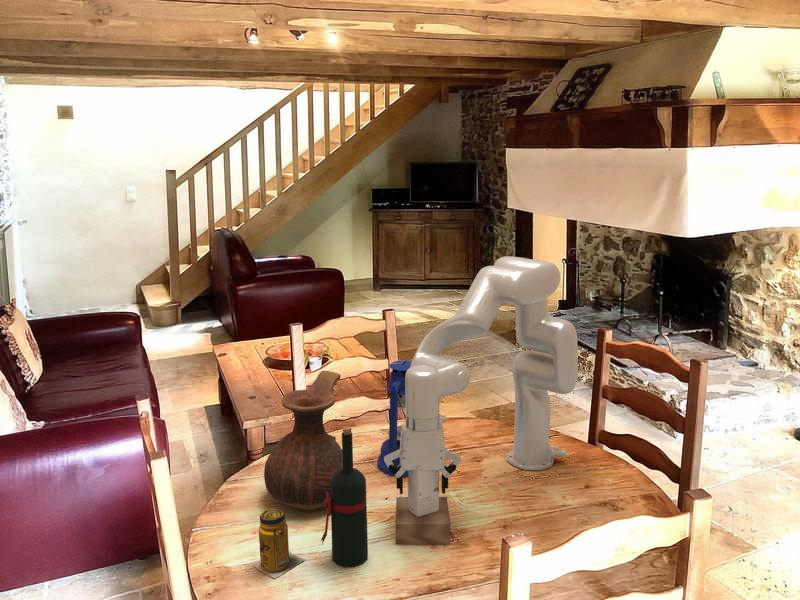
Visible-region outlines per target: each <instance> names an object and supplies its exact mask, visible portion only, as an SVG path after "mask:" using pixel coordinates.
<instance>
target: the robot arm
mask: <svg viewBox="0 0 800 600" xmlns="http://www.w3.org/2000/svg"><path fill="white" fill-rule="evenodd" d="M560 283H561V272H560V270H559V267H558V266H557V264H555V263H553V262H550V261H545V260H539V259H531V258H527V257H520V256H512V255H511V256H502V257H499V258H498V259H496V261H495V262H494V264H493V265H488V266H484V267H482V268H481V269H480V270H479V271H478V273H477V274H476V276H475V278H474V280H473V281H472V283H471V285H470V287H469V289H468V291H467V293H466V295H465V296H464V298H463V300H462V302H461V303H460V305H459V307H458V310H457V311H456V312H455V314H454V315H453V316H450V317H449V318H447V319H446V320H444V321H442V322H441V323H440V324H438V325H436V327H434V328H433V329H431V331H429V332H428V333H427V334H426V335H425V336H424V337H423V339H422V341H421V342H420V344H419V345H418V348H417V350H416V351H415V354H414V355H413V358H412V359H411V361H412V362H411V366H410V368H409V369H408V370H407V372H406V377H405V386H406V408H405V416H406V420H405V423H402V430H401V438H400V449H399V450H396V451H394V452H392V453H390V454H388V455H386V456H385V457H384V462H385V463H386V465H387V466H388V468H389V470H390V471H391V472H392V473H393V474H394V475H395V476H394V477H395V478H396V490H399V495H402V494H404V477H403V473H404V472H405V471H406V470H413V471H414V470H415V468H416V466H422V467H424V470H439V473H441V493H442V494H443V495H446V489H449V478H450V476H451V475H452V474H453V473H454V472H455V471H456V470H457V467H458V466H459V465H460V463H461V461H462V458H461V455H459V454H456V453H455V452H452V451H450V450H449V449H446V446H445V445H446V442H445V433H444V428H443V427H444V426H443V424H442V423H446V422H447V415H441V413H440V405H441V403H440V400H441V397H448V396H453V395H457V394H459V393H462V392H463V391H465V389H467V387H468V385H469V384H470V382H471V377H472V376H471V371H470V368H469V367H468V366H467V365H466V364H464V363H462V362H461V361H459V360H458V361H457V360H455V359H449V358H447V357H443V356H440V355H441V354H442V353H443V351H444V350H446V349H447V348H448V347H449V346H451V345H453V344H455V343H457V342H461V341H464V340H469V339H473V338H476V337H481V336H483V335H485V334H486V333H488V332H489V329H490V328H491V326H492V324H493V321H494V319H495V318H496V316H497V314H498V312H499V310H500V308H501V306H502V305H503V304H507V305H513V306H514V309H515V310H514V311H515V312H514V313H515V314H514V315H515V316H514V317H515V330H516V331H515V333H516V340H517V343H518V344H519V345H520V346H521V347H523V348H524V349H527V350H522V351H520V352H519V353H517V354H516V355H515V357H514V359H513V361H512V367H511V368H512V376H513V377H512V378H513V382H514V394H515V395H514V397H515V398H514V423H513V426H514V427H513V448H512V449H511V450H510V451H509V452H508V453H507V461H508V463H509V464H511V465H512V466H513V467H515V468H517V469H521V470H525V471H542V470H546V469H549V468H550V467H552V466H553V464H554V459H555V457H566V455H567V452H566V449H562V448H561V449H560V446H551V445H550V444H549V443H550V442H549V441H550V426H551V424H550V423H551V422H550V421H551V399H550V395H549V392H551V393H554V394H559V395H567V394H570V393H571V392H572V391H574V390H575V387H576V385H577V382H578V376H579V375H578V373H579V364H578V363H579V361H578V359H579V357H578V356H579V353H578V348H579V347H578V334H577V330H576V328H575V325H574V324H573V323H572V322H571V321H569V320H566V319H563V318H557V317H555V316H554V317H553V316H551V315H550V314H549V303H548V297H550V296H552V295H553V294H554V293H555V292H556V291H557V289H558V288H559V286H560ZM398 457H400V464H399V466H398V467H397V466H396V465H394V464H393V463H392V460H394V459H396V458H398ZM446 458H447V459H450V460H452V462H451V463H450V464H448V466H447V465H446Z"/></svg>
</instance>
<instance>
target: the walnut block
mask: <svg viewBox="0 0 800 600" xmlns="http://www.w3.org/2000/svg"><path fill="white" fill-rule="evenodd" d="M395 500H396V501H395V545H450V544H451V521H450V512H449V504H448V503H449V502H448V496H439V510H438V511H435V512H432V513H429V514H426V515H423V516H419V517H417V516H415V515H414V514H413V513H412V512H411V511H410V510H409V509H408V496H397V497H396V499H395Z"/></svg>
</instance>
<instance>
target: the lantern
mask: <svg viewBox="0 0 800 600" xmlns="http://www.w3.org/2000/svg"><path fill="white" fill-rule="evenodd" d="M411 362H412V360H406V359H404V360H401V359H400V360H395V361H394V360H393V362H391V363H389V365H388V367H389V368H390V369H391V370H392V371H391V372H389V379H388V386H386V390H387V391H388V392H389V393H390V398H389V405H388V406H387V407H386V408H385V412H384V414H385V418H386V419H387V422H388V423H389V424H388V425H389V428H388V429H389V430H388V431H387V436H388V438H387V439H386V440H384V441H383V442H382V444H381V446H380V455H379V456H378V457H377V459H376V460H377V461H376V466H377V468H378V470H379V471H380V472H381V473H383V474H384V475H387V476H389V477H390V476H391V477H395V475H394V474H393V473H392V472H391V471H390V470H389V468H388V466H387V465H386V463H385V462H384V457H385V456H386V455H388V454H390V453H392V452H394V451H396V450H399V449H400V438H401V430H402V426H403V424H401V425H399V426H398V416H399V415H398V414H399V413H398V411H399V408H400V409H401V412H402V413H403V414H402V415H403V417H404V419H405V421H406V413H405V411H406V386H405V377H406V372H407V370H408V369H409V368H410V366H411ZM388 409H389V419H388V417H387V410H388ZM392 463H393V464H394V465H396V466H397V467H398V466H399V464H400V457H398V458H396V459H394V460H392ZM403 478H408V470H406V471H405V472H404V473H403Z"/></svg>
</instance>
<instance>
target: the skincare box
mask: <svg viewBox="0 0 800 600" xmlns="http://www.w3.org/2000/svg"><path fill="white" fill-rule="evenodd" d="M407 497H408V509H409V510H410V511H411V512H412V513H413V514H414V515H415V516H417V517H419V516H423V515H426V514H429V513H432V512H435V511H438V510H439V497H440V471H439V470H424V467H422V466H416V468H415V470H414V471H413V470H408V477H407Z"/></svg>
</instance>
